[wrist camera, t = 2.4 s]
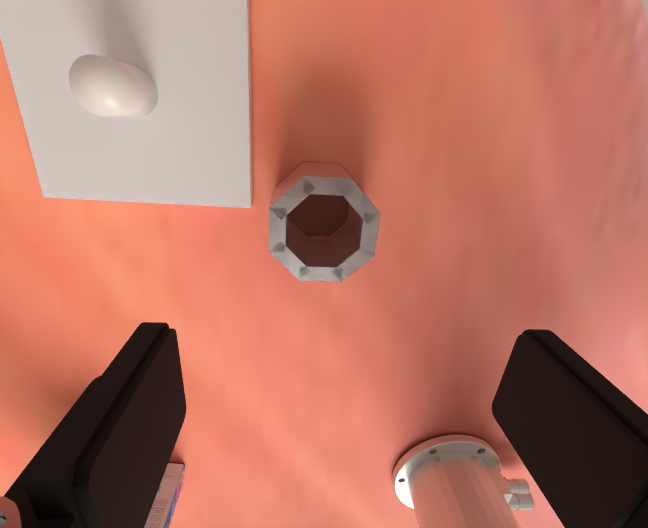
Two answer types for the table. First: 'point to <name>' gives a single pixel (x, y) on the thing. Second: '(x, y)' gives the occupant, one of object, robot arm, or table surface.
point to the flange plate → (130, 145)
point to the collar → (322, 251)
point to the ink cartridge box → (166, 497)
